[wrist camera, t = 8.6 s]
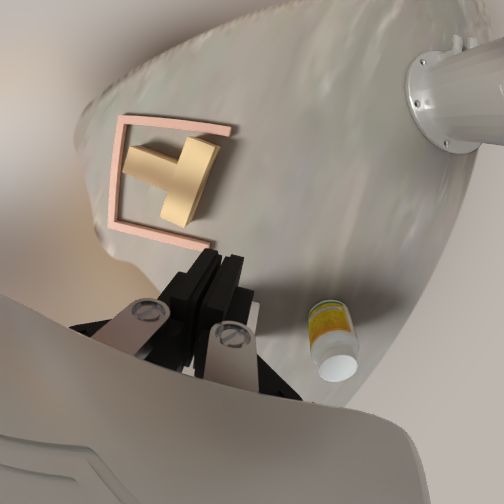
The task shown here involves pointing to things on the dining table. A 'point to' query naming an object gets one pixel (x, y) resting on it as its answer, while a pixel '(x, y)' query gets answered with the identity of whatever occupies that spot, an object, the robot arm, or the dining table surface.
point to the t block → (175, 175)
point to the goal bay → (116, 173)
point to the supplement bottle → (333, 340)
